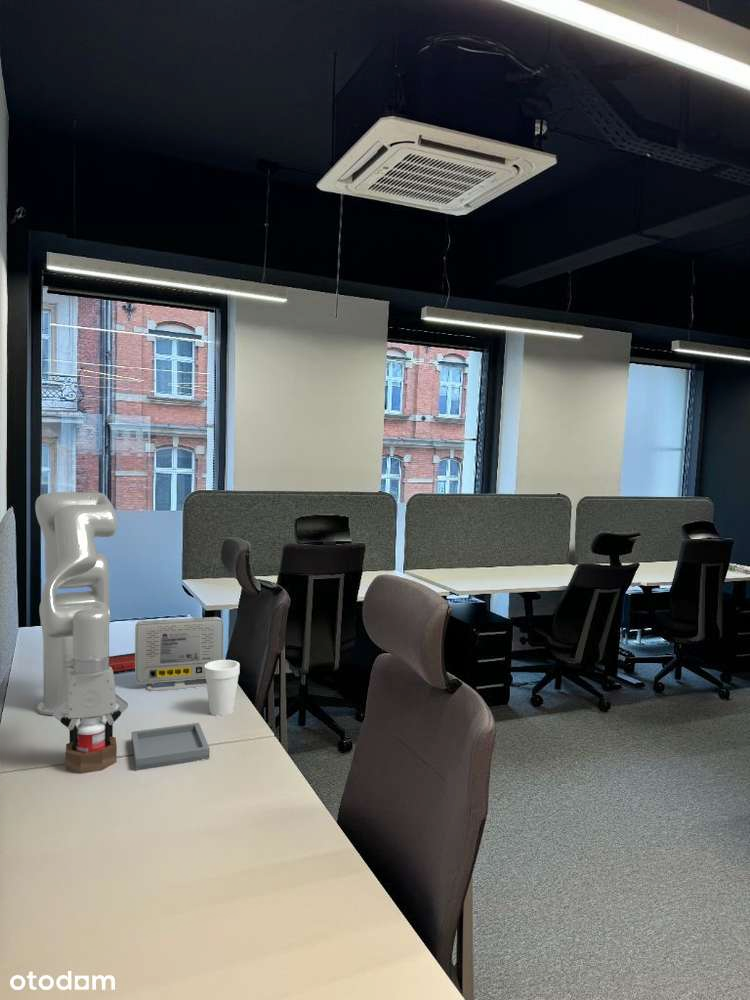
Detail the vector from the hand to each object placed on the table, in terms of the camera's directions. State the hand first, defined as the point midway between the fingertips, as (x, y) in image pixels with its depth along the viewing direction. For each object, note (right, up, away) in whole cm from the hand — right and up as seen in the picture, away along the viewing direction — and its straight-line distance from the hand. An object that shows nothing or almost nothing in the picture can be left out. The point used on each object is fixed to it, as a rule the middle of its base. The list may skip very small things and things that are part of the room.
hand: (91, 741), depth 149 cm
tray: (+15, -5, +7) cm, 18 cm away
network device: (+4, -2, +52) cm, 53 cm away
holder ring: (0, -5, 0) cm, 5 cm away
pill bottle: (0, -5, 0) cm, 5 cm away
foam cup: (+22, -4, +32) cm, 39 cm away
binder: (-22, -1, +68) cm, 72 cm away
